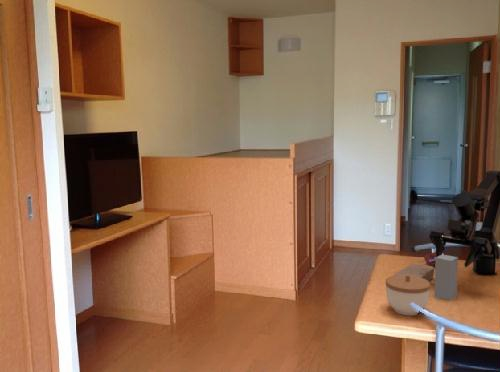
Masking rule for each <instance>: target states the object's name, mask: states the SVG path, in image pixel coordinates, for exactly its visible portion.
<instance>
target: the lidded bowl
mask: <svg viewBox="0 0 500 372" xmlns="http://www.w3.org/2000/svg"><path fill="white" fill-rule="evenodd" d="M430 288H431V282H430V281H427V280H426V279H423V278H420V277H416V276H411V275H395V276H394V275H391V276H387V278H386V279H385V295H386V300H387V302H388V303H389V305H390V306H391V308H392V309H393V310H394V312H395V313H396V314H399V315H403V316H417V315H418V314H417V312H415V311H414V310H413V309H412V308H411V307H410V305H409V304H410V303H412V302H414V303H415V304H417V305H419V306H420V307H422V308H424V309H425V308H426V306H427V305H428V302H429V298H430V291H431V289H430Z"/></svg>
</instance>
